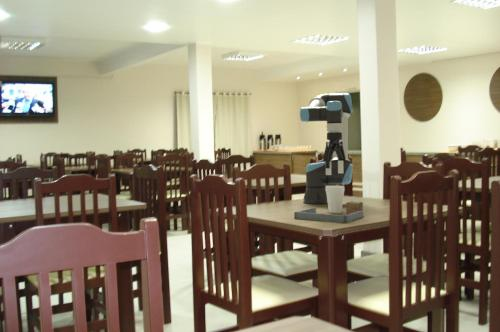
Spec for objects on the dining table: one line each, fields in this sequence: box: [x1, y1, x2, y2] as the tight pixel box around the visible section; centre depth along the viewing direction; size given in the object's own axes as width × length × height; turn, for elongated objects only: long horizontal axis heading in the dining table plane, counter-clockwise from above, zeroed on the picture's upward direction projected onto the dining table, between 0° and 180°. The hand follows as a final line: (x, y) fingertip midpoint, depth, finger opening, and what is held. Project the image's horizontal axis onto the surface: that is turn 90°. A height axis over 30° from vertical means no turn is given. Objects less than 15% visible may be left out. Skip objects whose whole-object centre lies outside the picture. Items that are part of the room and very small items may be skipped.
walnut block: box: [345, 201, 364, 215], centre depth 264 cm, size 6×6×6 cm
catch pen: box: [293, 206, 364, 224], centre depth 255 cm, size 19×26×3 cm
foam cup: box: [326, 185, 345, 214], centre depth 273 cm, size 10×9×13 cm
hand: (334, 174), depth 272 cm, fingers open, 13 cm apart
